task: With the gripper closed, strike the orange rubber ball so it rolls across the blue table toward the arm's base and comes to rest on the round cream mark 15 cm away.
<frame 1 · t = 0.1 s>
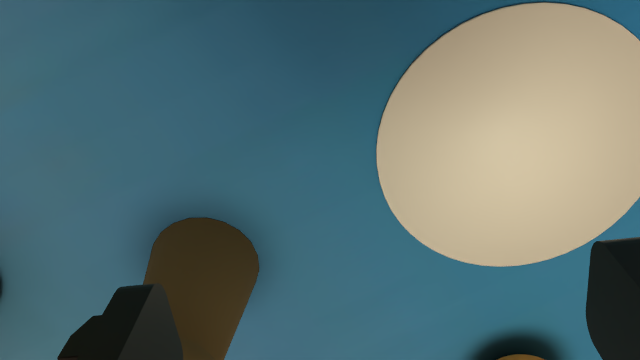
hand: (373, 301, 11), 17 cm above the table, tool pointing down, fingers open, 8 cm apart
cork: (206, 261, 32), on the table
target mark: (518, 148, 28), on the table
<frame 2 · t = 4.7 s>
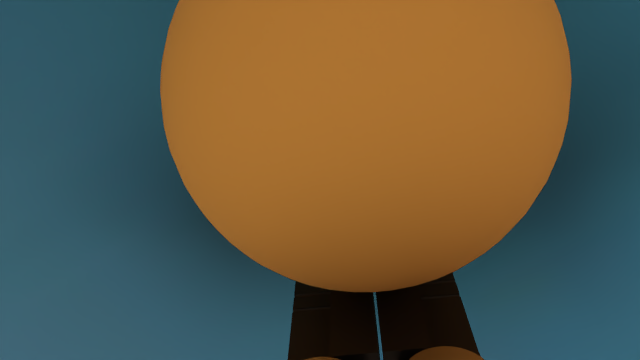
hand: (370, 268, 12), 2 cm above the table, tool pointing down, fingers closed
ball: (360, 96, 9), on the table, touching gripper
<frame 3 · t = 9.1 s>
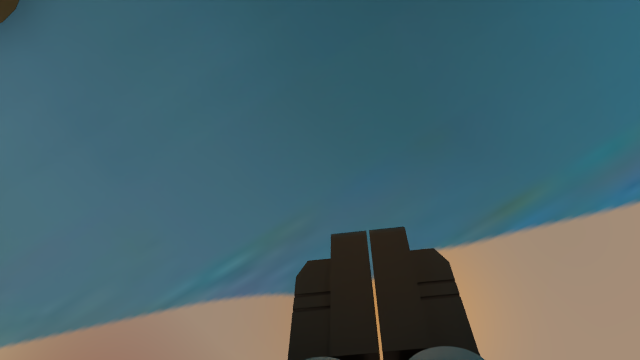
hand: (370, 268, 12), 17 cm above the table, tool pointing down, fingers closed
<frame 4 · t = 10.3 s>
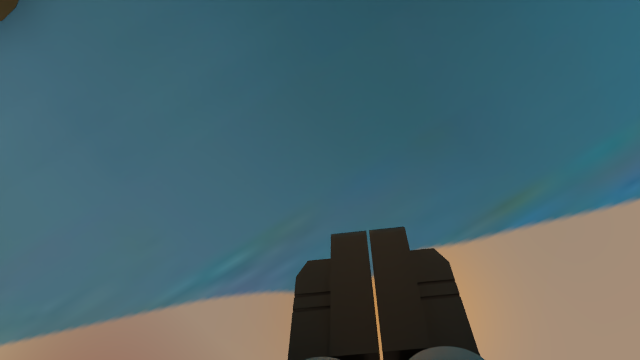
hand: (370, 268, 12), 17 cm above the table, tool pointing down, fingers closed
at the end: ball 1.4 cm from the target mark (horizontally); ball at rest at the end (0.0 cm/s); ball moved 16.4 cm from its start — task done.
